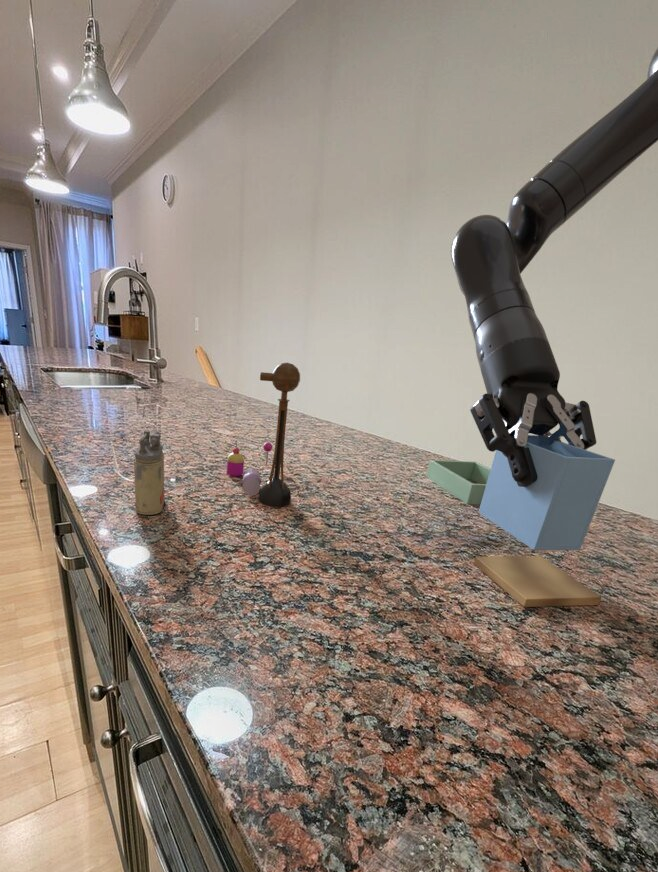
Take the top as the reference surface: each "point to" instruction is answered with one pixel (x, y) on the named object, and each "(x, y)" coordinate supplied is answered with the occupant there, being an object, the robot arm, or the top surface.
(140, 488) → the beige upright cylinder
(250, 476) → the candy
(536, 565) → the cork mat
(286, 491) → the wooden tabletop sculpture
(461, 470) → the bottom bin
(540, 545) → the top bin
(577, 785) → the top surface
